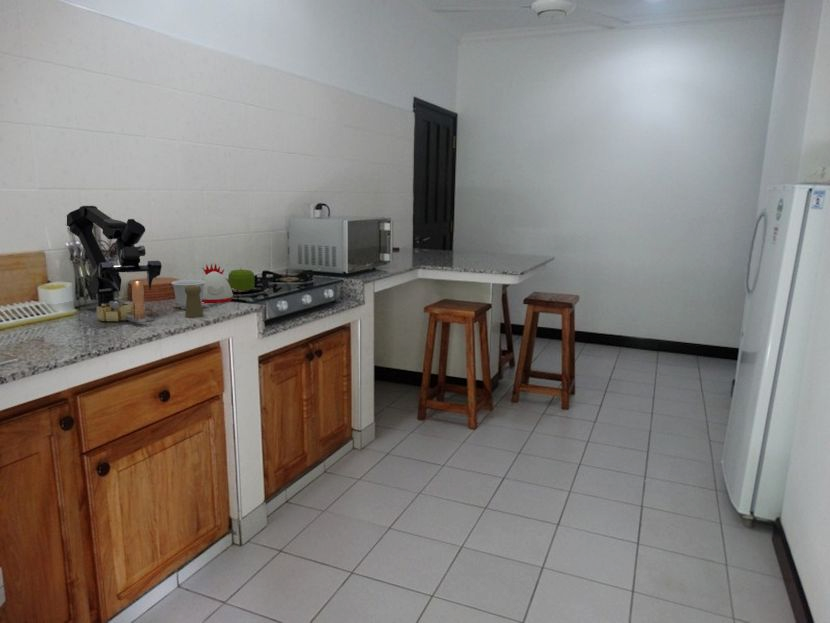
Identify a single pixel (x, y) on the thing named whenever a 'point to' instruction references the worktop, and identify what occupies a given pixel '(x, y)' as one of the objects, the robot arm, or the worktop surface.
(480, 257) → the worktop surface
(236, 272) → the apple
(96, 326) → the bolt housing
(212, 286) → the kitchen timer
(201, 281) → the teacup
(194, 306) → the pepper mill
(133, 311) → the copper cylinder with bracket
